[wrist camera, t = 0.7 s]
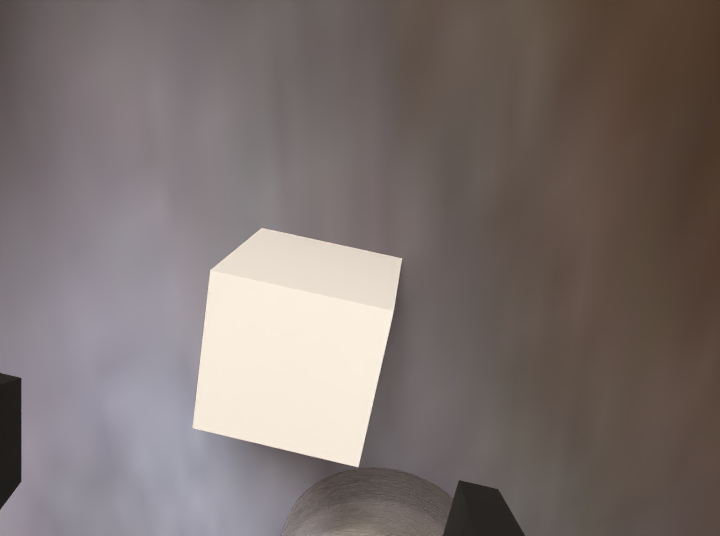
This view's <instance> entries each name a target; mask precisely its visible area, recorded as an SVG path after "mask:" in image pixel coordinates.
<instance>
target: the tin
mask: <svg viewBox="0 0 720 536" xmlns="http://www.w3.org/2000/svg"><path fill="white" fill-rule="evenodd" d="M452 502H453V498H452V497H451V496H450V495H449V494H447V493H446V492H445V491H443V490H442V489H440V488H439V487H438V486H436V485H434V484H432V483H430V482H429V481H427V480H425V479H422V478H420V477H417V476H415V475H412V474H409V473H406V472H402V471H397V470H392V469H385V468H359V469H353V470H347V471H344V472H340V473H337V474H334V475H332V476H329V477H327V478H325V479H323V480H321V481H319V482H318V483H316V484H314V485H313V486H312V487H311V488H309V489H308V490H307V491H306V492H305V493H304V494H303V495H302V496H301V497H300V498H299V499H298V500H297V502H296V503H295V505H294V506H293V508H292V509H291V511H290V514H289V516H288V518H287V521H286V524H285V527H284V530H283V533H282V536H443V533H444V530H445V526H446V523H447V519H448V516H449V513H450V509H451V506H452Z"/></svg>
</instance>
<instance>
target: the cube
mask: <svg viewBox="0 0 720 536" xmlns="http://www.w3.org/2000/svg"><path fill="white" fill-rule="evenodd" d="M401 262H402V258H397V257H393V256H388V255H384V254H379V253H374V252H370V251H365V250H361V249H356V248H351V247H347V246H342V245H338V244H333V243H328V242H324V241H319V240H315V239H310V238H305V237H301V236H296V235H292V234H287V233H282V232H278V231H273V230H269V229H264V228H261V229H260V230H259V231H258V232H256V233H255V234H254V235H253V236H251V237H250V238H249V239H248V240H247V241H245V242H244V243H243V244H242V245H241V246H239V247H238V248H237V249H236V250H234V251H233V252H232V253H231V254H230V255H228V256H227V257H226V258H225V259H224V260H222V261H221V262H220V263H219V264H217V265H216V266H215V267H214V268H213V269H211V270H210V279H209V288H208V296H207V305H206V314H205V323H204V332H203V341H202V350H201V359H200V368H199V377H198V386H197V395H196V404H195V413H194V422H193V428H195V429H199V430H203V431H207V432H211V433H216V434H220V435H224V436H228V437H233V438H237V439H241V440H245V441H249V442H254V443H258V444H262V445H266V446H271V447H275V448H279V449H283V450H287V451H292V452H296V453H300V454H304V455H308V456H313V457H317V458H321V459H325V460H330V461H334V462H338V463H342V464H346V465H351V466H355V467H359V462H360V458H361V453H362V449H363V445H364V440H365V436H366V431H367V427H368V423H369V418H370V414H371V409H372V405H373V400H374V396H375V392H376V387H377V383H378V378H379V374H380V370H381V365H382V361H383V356H384V352H385V348H386V343H387V339H388V334H389V330H390V325H391V321H392V317H393V312H394V306H395V300H396V294H397V287H398V281H399V275H400V268H401Z"/></svg>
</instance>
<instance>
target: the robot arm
mask: <svg viewBox="0 0 720 536" xmlns="http://www.w3.org/2000/svg"><path fill="white" fill-rule="evenodd" d="M20 483H21V378H19V377H15V376H10V375H6V374H2V373H0V509H1V508H2V506H3V505H4V504H5V503H6V501H7V500H8V499H9V497H10V496H11V495H12V493H13V492H14V491H15V489H16V488H17V487H18V485H19V484H20ZM443 536H525V535H524V533H523V531H522V530H521V528H520V526H519V524H518V523H517V521H516V519H515V518H514V516H513V514H512V512H511V511H510V509H509V507H508V505H507V504H506V502H505V500H504V499H503V497H502V495H501V494H500V492H499V490H498V489H494V488H490V487H486V486H481V485H477V484H473V483H469V482H464V481H460V480H459V482H458V486H457V489H456V492H455V496H454V499H453V502H452V506H451V509H450V513H449V516H448V519H447V523H446V526H445V530H444V533H443Z"/></svg>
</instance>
